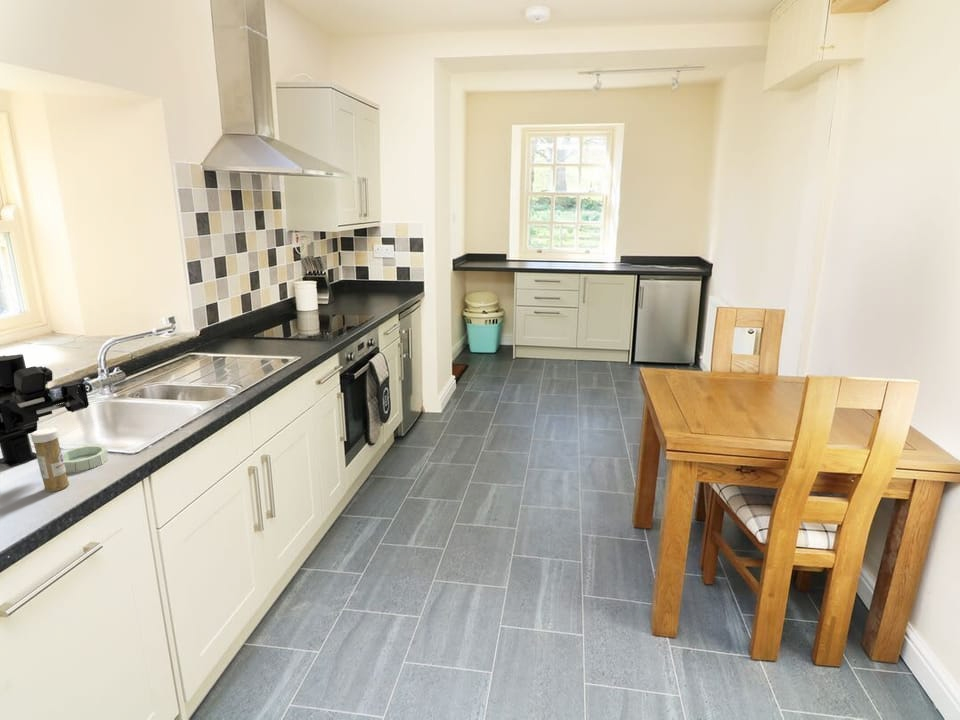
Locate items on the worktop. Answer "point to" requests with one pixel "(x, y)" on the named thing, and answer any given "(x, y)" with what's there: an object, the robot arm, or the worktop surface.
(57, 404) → the robot arm
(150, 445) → the worktop surface
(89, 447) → the dish
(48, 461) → the sprinkles bottle
